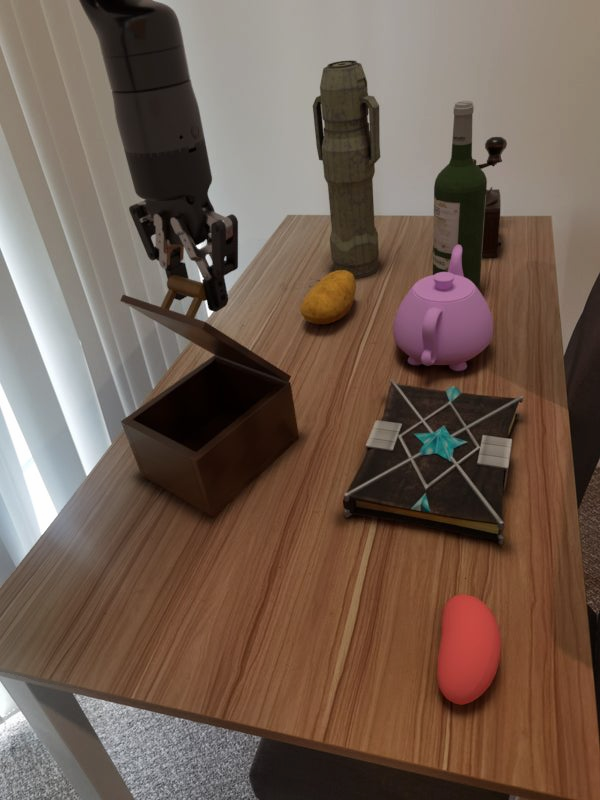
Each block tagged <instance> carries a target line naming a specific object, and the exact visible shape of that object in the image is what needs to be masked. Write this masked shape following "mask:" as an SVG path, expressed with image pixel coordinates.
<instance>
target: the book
mask: <svg viewBox="0 0 600 800" xmlns="http://www.w3.org/2000/svg"><path fill="white" fill-rule="evenodd" d="M523 402H524V396H523V395H520V396H518V397H506V396H496V395H485V394H477V393H467V392H462V391H460V389H459V388H457V387H456V386H455V385H452V386H451V387H449V388H447V389H446V390H444V389H436V388H435V389H434V388H428V387H422V386H416V385H410V384H403V383H398V382H395V380H394V379H390V385H389V386H388V392H387V396H386V401H385V404H384V410H383V414H382V417H381V419H380V420H378V419H376V420H375V421H374V423H373V426H372V429H371V431H370V433H369V436H368V439H367V441H366V443H365V455H364V458H363V460H362V463H361V464H360V466H359V468H358V470H357V471H356V473H355V475H354V478H353V479H352V481H351V483H350V485H349V487H348V489H347V491H346V492H345V493H344V494H343V499H342V506H343V509H344V510H343V514H344V517H345V518H346V519H347V518H349V517H350V516H352V515H354V516H361V517H366V518H367V517H368V518H372V519H373V518H374V519H380V520H387V521H392V522H393V521H394V522H399V523H404V524H405V523H406V524H409V525H410V524H411V525H415V526H419V527H420V526H421V527H425V528H431V529H435V530H440V531H446V532H450V533H451V532H452V533H457V534H460V535H466V536H470V537H475V538H480V539H484V540H489V541H493V542H497V543H498V544H499V545H500V546H501V545H503V544H504V539H505V538H504V536H503V535H502V534H501V530H503V529H504V524H505V522H504V521H503V518H504V516H503V515H504V512H503V511H504V491H506V488H507V483H508V475H509V473H508V472H509V467H510V461H511V460H510V459H511V452H512V444H513V439H512V438H511V437H512V434H513V432H514V428H515V425H516V422H517V420H518V419H519V418H520V413H519V412H518V411H517V409H518V406H519V403H520V404H523Z"/></svg>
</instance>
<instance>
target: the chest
mask: <svg viewBox="0 0 600 800" xmlns="http://www.w3.org/2000/svg"><path fill="white" fill-rule="evenodd" d="M120 423H121V426H122V428H123V431H124V434H125V436H126V439H127V442H128V444H129V447H130V449H131V451H132V454H133V456H134V457H133V458H134V459H135V462H136V464H137V467H138V470H139V472H140V475H141V476H142V477H143V478H145V479H146V480H148V481H150V482H152V483H154V484H156V485H157V486H159V487H161V488H162V489H164V490H165V491H167V492H169V493H171V494H172V495H174V496H176V497H178V498H179V499H181V500H183V501H184V502H186V503H188V504H190V505H191V506H193V507H195V508H196V509H198V510H200V511H201V512H203V513H204V514H207V515H208V516H210V517H212V518H215V517H216V516H217V515H219V513H220V512H221V511H222V510H223V509H225V507H227V506H228V505H229V504H230V503H231V502H232V501H233V500H234V499H235V498H236V497H238V495H240V494H241V493H242V492H243V491H244V490H245V489H246V488H248V486H249V485H250V484H252V483H253V482H254V481H255V480H256V479H257V478H258V477H259V476H260V475H262V473H263V472H264V471H265V470H266V469H267V468H268V467H270V466H271V465H272V464H273V463H274V462H275V461H276V460H277V459H278V458H279V457H281V456H282V454H284V453H285V452H286V451H287V450H288V449H289V448H290V447H291V446H292V445H293V444H294V443H296V442H297V441H298V440H299V439H300V436H299V429H298V428H299V427H298V421H297V415H296V408H295V402H294V397H293V390H292V384H291V382H290V381H289V382H287V381H284V380H281V379H279V378H276V377H273V376H271V375H268V374H265V373H263V372H260V371H257V370H255V369H252V368H249V367H246V366H244V365H241V364H238V363H236V362H233V361H230V360H228V359H225V358H222V357H220V356H217V355H214V354H213V355H212V356H211V357H209V359H207V360H206V361H204V362H202V363H201V364H199V366H197V367H195V368H194V369H192V370H191V371H190V372H189V373H187V374H185V375H184V376H183V377H181V378H180V379H179V380H177V381H176V382H174V383H173V384H171V385H170V386H169V387H167V388H166V389H164V390H163V391H161V392H160V393H158V394H157V395H156V396H154V397H153V398H152V399H150V400H148V402H146V403H144V404H143V405H141V406H140V407H139V408H137V409H136V410H135V411H133V412H132V413H130V414H129V415H127V416H126V417H124V418H123V419H122V420H121V421H120Z"/></svg>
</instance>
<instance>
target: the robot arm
mask: <svg viewBox="0 0 600 800" xmlns="http://www.w3.org/2000/svg"><path fill="white" fill-rule="evenodd" d="M78 1H79V3H80V6H81V8H82V10H83V11H84V14H85V15H86V17H87V19H88V21H89V23H90V25H91V26H92V28H93V31H94V32H95V35H96V36H97V40H98V43H99V47H100V52H101V56H102V60H103V64H104V68H105V71H106V72H105V73H106V75H107V80H108V83H109V87H110V90H111V95H112V100H113V108H114V114H115V121H116V125H117V128H118V129H117V130H118V133H119V135H120V136H119V137H120V139H121V143H122V147H123V152H124V155H125V158H126V163H127V166H128V169H129V170H128V171H129V173H130V177H131V182H132V185H133V188H134V192H135V194H136V196H138V198H141V199H142V200H141V201H140V202H136V203H134V204H132V205H130V206H129V207H128V211H129V213H130V216H131V219H132V221H133V223H134V225H135V228H136V231H137V233H138V236H139V238H140V241H141V243H142V245H143V248H144V250H145V252H146V255H147V257H148V259H149V260H151V261H155V260H156V261H158V263H159V265H160V268H162V269H163V270H164V271H165V275H166V279H167V280H168V278H169V277H170V276H172V275H177V276H181V277H184V278H188V279H190V278H189V274H188V269H187V266H186V263H185V262H183V260H184V254H185V253H184V252H186V254H187V257H188V258H189V260H190V261H192V262H195V264H196V267H197V268H198V271H199V273H200V274H201V276H202V278H203V279H202V281H201V282H202V283H203V286H204V290H205V295H206V299H207V300H206V304H207V308H208V310H209V311H211V312H215V313H216V312H218V311H220V310H222V309H223V308H225V307H226V306H227V305H228V303H229V295H228V290H227V285H226V280H225V276H227V275H228V274H230V273H232V272H234V271H236V270H238V268H239V221H238V218H237V216H236V215H235V214H233V213H231V214H228V215H227V216H225V215H221V214H219V213H217V212H216V211H215V208H214V206H213V204H212V202H211V200H210V197H209V190H210V187H211V185H212V182H213V175H212V171H211V165H210V159H209V153H208V148H207V145H206V144H207V143H206V139H205V133H204V128H203V122H202V117H201V111H200V107H199V102H198V99H197V97H196V93H195V90H194V88H193V83H192V80H191V74H190V70H189V64H188V63H189V62H188V59H187V54H186V49H185V44H184V36H183V32H182V28H181V24H180V21H179V18H178V16H177V14H176V11H175V10H174V9H173V8H172V7H171V6H169V5H167V4H166V3H163V2H159V1H156V0H78ZM154 235H155V245H154V242H153V239H152V236H154ZM204 242H206V245H204V246H202V247H200V248H198V247H197V246H199V245H200V244H202V243H204ZM207 255H208V256H209V257H210V260H211V263H212V264H211V265H209V262H208V260H207V258H206V257H207ZM187 297H188V296H185V295H182V294H179V293H177V294H176V296H175V298H174V300H177V301H182V300H184V299H185V298H187Z"/></svg>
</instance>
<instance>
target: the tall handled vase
mask: <svg viewBox="0 0 600 800" xmlns="http://www.w3.org/2000/svg"><path fill="white" fill-rule="evenodd" d="M368 90H369V89H368V80H367V76H366V74H365V71H364V68H363V65H362V63H360V62H358V61H357V60H351V59H350V60H339V61H334V62H331V63H328V64H327V66H325V67H323V69H322V74H321V79H320V84H319V91H320V92H319V93H320V95H318V96H315V99H314V101H313V104H312V113H313V120H314V121H313V123H314V133H315V145H316V152H317V156H318V160H319V161H322V167H323V168H322V169H323V177H324V178H323V179H324V180H325V182H326V183H327V192H328V203H329V214H330V225H331V226H330V227H331V232H330V237H329V246H330V258H331V261H332V265H333V267H332V270H333V271H332V272H334V271H337V270H346V271H348V272H350V273H352V274H353V276H354V278H355V280H356V279H363V278H367V277H369V276H371V275H373V274H376V272H377V271H378V270H379V258H378V257H379V253H380V251H379V250H380V249H379V233H378V230H377V227H376V225H375V207H374V205H375V204H374V184H373V183H374V182H373V179H374V177H375V173H376V167H375V164H376V163H377V162H378V161H379V159H380V158H381V147H380V145H381V144H380V141H381V139H380V138H381V137H380V135H381V134H380V104H379V103H378V101H377V98H375V96H373V95H369V92H368ZM368 117H369V118H368ZM368 119H369V120H368Z"/></svg>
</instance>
